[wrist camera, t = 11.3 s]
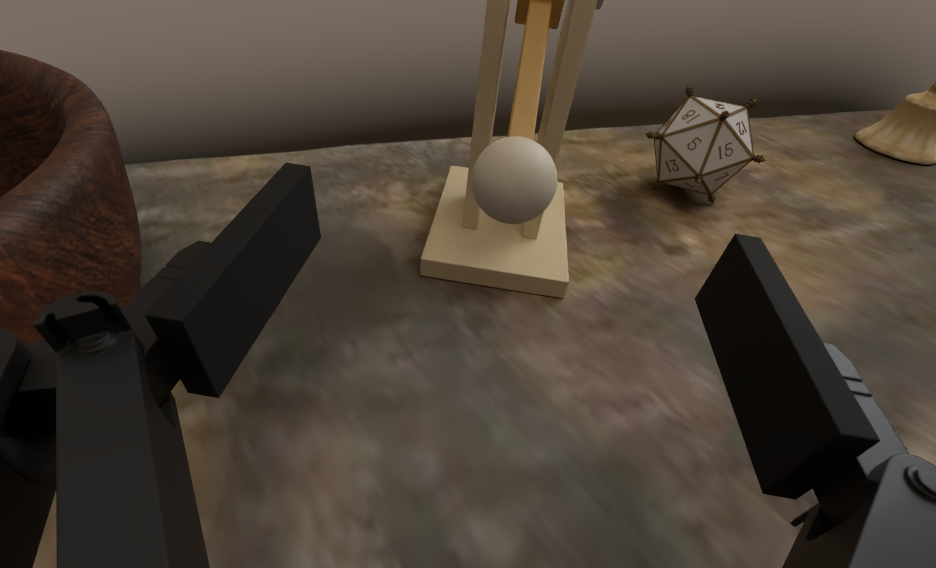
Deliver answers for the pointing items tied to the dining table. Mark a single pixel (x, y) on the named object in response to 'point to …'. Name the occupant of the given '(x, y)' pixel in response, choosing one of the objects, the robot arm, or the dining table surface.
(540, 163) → the lever
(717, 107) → the game die
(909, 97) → the hand bell
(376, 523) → the dining table surface
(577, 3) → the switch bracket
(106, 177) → the wooden bowl
